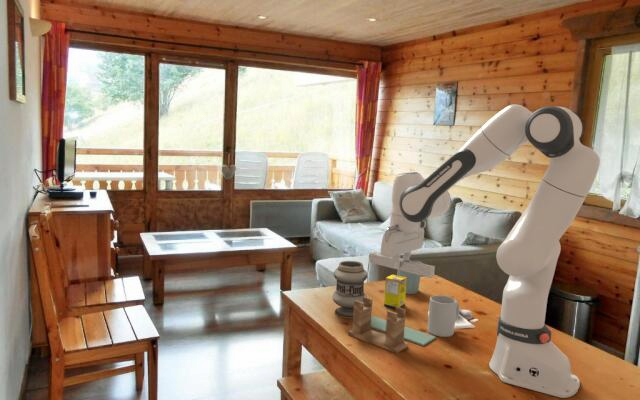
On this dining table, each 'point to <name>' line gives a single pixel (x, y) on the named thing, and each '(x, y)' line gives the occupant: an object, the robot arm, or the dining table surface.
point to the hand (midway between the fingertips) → (400, 266)
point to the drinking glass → (410, 280)
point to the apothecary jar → (349, 287)
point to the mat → (409, 333)
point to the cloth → (463, 319)
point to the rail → (403, 265)
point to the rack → (363, 332)
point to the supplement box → (395, 291)
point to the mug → (442, 315)
